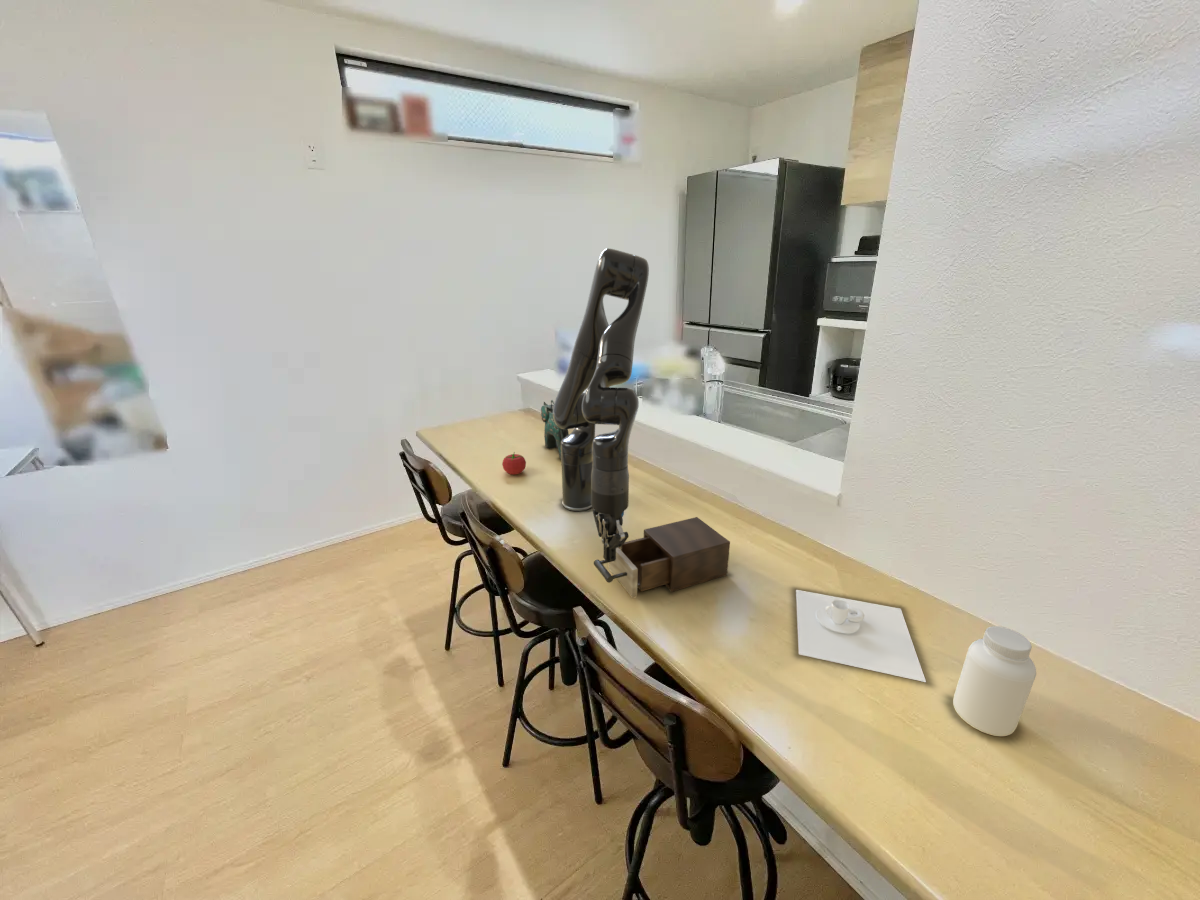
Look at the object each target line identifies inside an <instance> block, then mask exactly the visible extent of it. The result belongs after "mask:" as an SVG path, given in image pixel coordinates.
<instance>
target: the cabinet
mask: <svg viewBox="0 0 1200 900" xmlns="http://www.w3.org/2000/svg"><path fill="white" fill-rule="evenodd" d="M644 537H649V538H650V539H651V540H652V541H653V542H654V543H655V544H656V545H657V546H658V547H659V548H660V549H661V550H662V551H663V552H664V553H666V554H667V555H668V556H669V557H670V558H671V567H670V583H668V584H665V585H664V586H665V587H666V588H667V589H668V590H669V591H670V593H673V592H677V591H679V590H682V589H686V588H689V587H693V586H695V585H699V584H702V583H705V582H709V581H712V580H716V579H719V578H722V577H726V576H728V567H729V559H730V557H729V556H730V548H731V547H730V546H731V541H730V540H728V539H727V538H726V537H725V536H724V535H722V534H720V533H719V532H718V531H717V530H715V529H713V528H712V527H711V526H710V525H708V524H707V523H706V522H705V521H704V520H703V519H701V518H699V517H698V516H695V517H691V518H685V519H682V520H679V521H674V522H670V523H665V524H661V525H658V526H653V527H649V528H645V529H643V538H644Z"/></svg>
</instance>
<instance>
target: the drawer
mask: <svg viewBox="0 0 1200 900" xmlns="http://www.w3.org/2000/svg"><path fill="white" fill-rule="evenodd" d="M604 564H608V569H607V568H606V566H604ZM593 565H594V567H595V568H596V569H597V571H598V572H599V573H600V574H601V576H602V577H603V578H604V580H605V581H606V582H607V583H612V582H613V580H615V579H616V580H617V581H618V583H619V584H620V585H621V586H622V587H623V588H624V590H625V591H626V592H627V594H628V595H629V596H630V597H631V598H632V599H634V598H637V597H638V590H640V591H641V592H644V591H648V590H651V589H654V588H657V587H661V586H665V584H668V583H670V567H671V558H670V557H669V556H668V555H667V554H666V553H664V552H663V551H662V550H661V549H660V548H659V547H658V546H657V545H656V544H655V543H654V542H653V541H652V540H651V539H650V538H649V537H644V536H643V537H640V538H636V539H632V540H628V541H625V542H624V544H623V545H622V546H621V547H618V548H616V559H615V560H614V561H611V562H607V561H606V560H605V559H603V560H600V559H598V558H597V559H594V561H593ZM608 570H609V571H608ZM610 572H611V573H610Z"/></svg>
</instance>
